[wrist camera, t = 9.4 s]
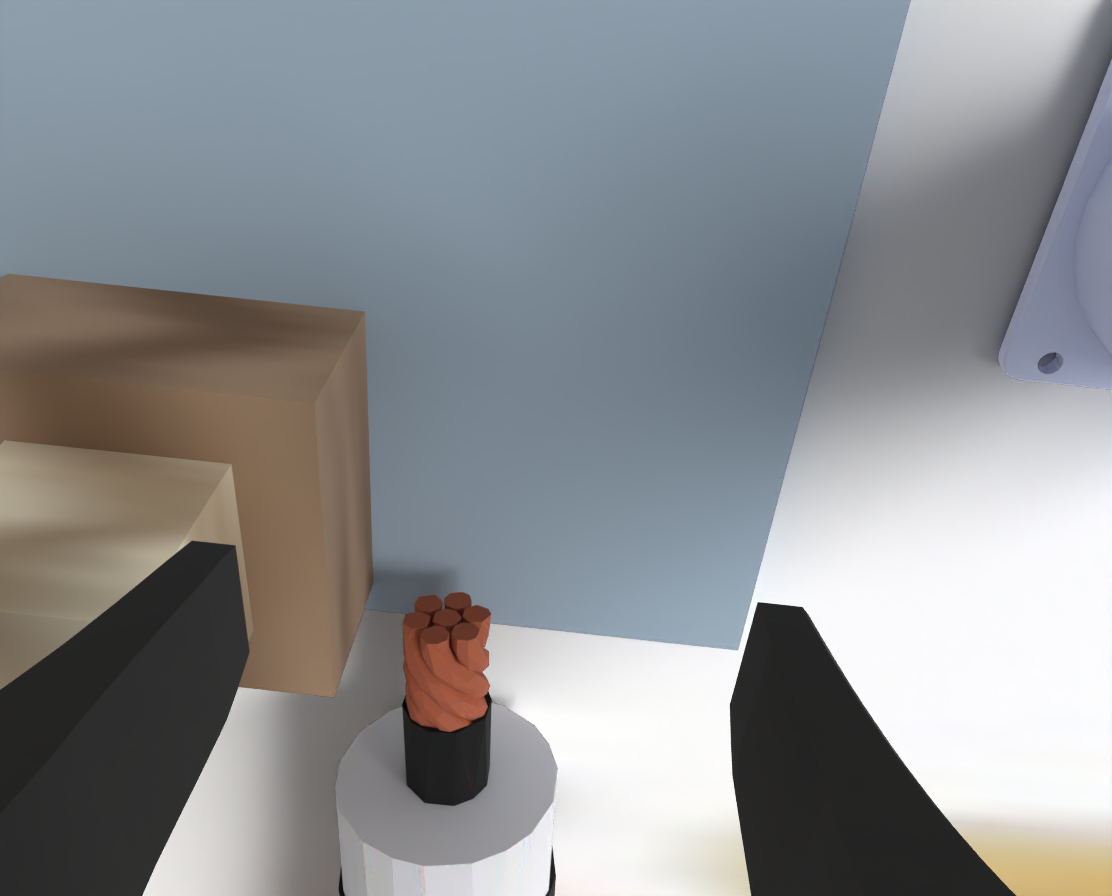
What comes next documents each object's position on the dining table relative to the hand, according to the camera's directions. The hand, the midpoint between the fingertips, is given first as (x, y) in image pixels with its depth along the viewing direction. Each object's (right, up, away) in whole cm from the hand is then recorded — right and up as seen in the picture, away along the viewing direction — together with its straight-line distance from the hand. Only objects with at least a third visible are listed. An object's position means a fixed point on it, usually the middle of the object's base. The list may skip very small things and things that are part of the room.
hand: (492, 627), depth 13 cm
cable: (-2, -14, +22) cm, 26 cm away
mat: (-4, +7, +8) cm, 11 cm away
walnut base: (-8, +3, +10) cm, 13 cm away
